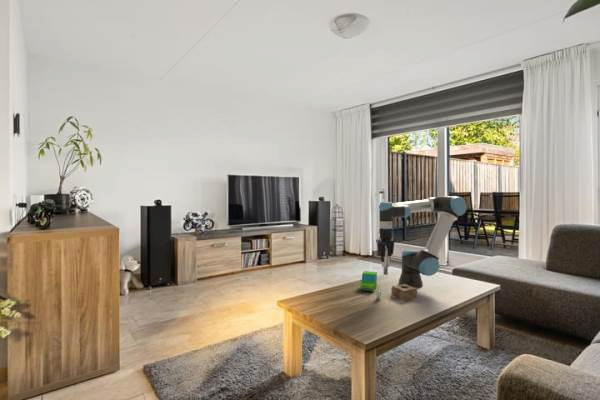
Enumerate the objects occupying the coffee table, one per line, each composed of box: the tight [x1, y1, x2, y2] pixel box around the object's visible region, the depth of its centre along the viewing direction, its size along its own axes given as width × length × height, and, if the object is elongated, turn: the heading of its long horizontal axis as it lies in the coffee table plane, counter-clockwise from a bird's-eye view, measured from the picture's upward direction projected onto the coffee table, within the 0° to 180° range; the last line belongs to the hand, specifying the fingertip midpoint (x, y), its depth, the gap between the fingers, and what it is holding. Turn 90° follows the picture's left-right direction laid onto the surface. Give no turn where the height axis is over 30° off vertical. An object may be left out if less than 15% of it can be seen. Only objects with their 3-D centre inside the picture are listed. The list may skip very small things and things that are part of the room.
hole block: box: [391, 284, 418, 302], centre depth 200 cm, size 10×10×6 cm
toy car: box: [359, 270, 378, 293], centre depth 214 cm, size 10×13×10 cm
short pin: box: [375, 290, 382, 302], centre depth 195 cm, size 2×2×5 cm
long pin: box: [383, 247, 389, 276], centre depth 203 cm, size 2×2×16 cm
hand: (385, 266), depth 203 cm, fingers closed on long pin, 2 cm apart
